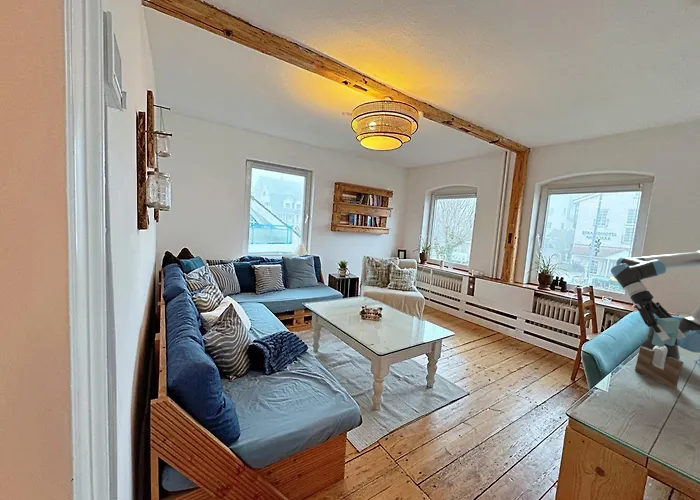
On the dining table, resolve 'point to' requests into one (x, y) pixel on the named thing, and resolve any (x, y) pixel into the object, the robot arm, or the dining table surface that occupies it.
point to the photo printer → (659, 355)
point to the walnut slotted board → (659, 368)
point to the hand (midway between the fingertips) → (673, 338)
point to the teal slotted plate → (667, 331)
